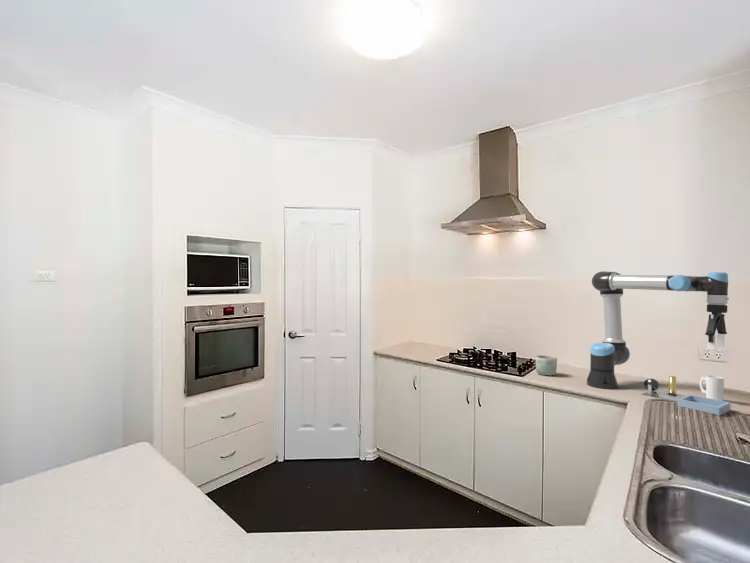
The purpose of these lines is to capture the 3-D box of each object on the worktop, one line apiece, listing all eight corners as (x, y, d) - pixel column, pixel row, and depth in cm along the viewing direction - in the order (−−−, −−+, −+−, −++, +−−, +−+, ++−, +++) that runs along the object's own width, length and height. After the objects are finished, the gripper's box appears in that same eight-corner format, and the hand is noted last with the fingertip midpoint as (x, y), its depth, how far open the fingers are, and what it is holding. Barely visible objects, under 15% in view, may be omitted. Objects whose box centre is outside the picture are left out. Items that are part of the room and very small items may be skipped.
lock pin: (667, 398, 194) (667, 376, 194) (669, 397, 196) (670, 375, 196) (674, 399, 192) (674, 377, 192) (676, 398, 193) (676, 376, 194)
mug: (727, 402, 191) (727, 378, 191) (718, 403, 189) (718, 378, 189) (703, 397, 200) (704, 373, 201) (695, 397, 198) (695, 374, 198)
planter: (554, 373, 250) (554, 356, 250) (558, 377, 238) (559, 359, 238) (533, 371, 253) (534, 354, 253) (537, 375, 241) (537, 358, 241)
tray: (677, 406, 182) (677, 398, 182) (689, 401, 191) (689, 394, 191) (719, 416, 170) (719, 407, 170) (730, 410, 178) (730, 402, 178)
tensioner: (640, 395, 201) (640, 378, 201) (648, 392, 206) (649, 376, 207) (680, 404, 187) (680, 386, 187) (688, 400, 192) (688, 383, 193)
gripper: (718, 305, 178) (717, 351, 178) (735, 304, 192) (733, 347, 192) (698, 304, 185) (696, 348, 184) (715, 303, 199) (714, 345, 199)
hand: (715, 348), depth 188 cm, fingers open, 13 cm apart
